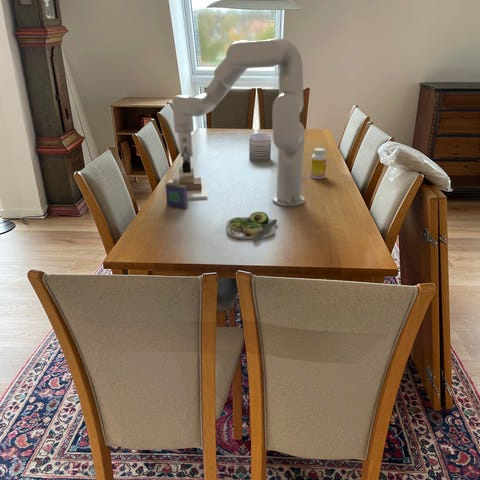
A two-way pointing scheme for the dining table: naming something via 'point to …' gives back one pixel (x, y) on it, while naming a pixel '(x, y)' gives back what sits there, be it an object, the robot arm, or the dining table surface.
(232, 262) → the dining table surface
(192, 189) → the plinth
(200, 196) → the plate
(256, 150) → the can
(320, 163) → the supplement bottle
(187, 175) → the birch block
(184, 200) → the flask
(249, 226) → the salad plate
